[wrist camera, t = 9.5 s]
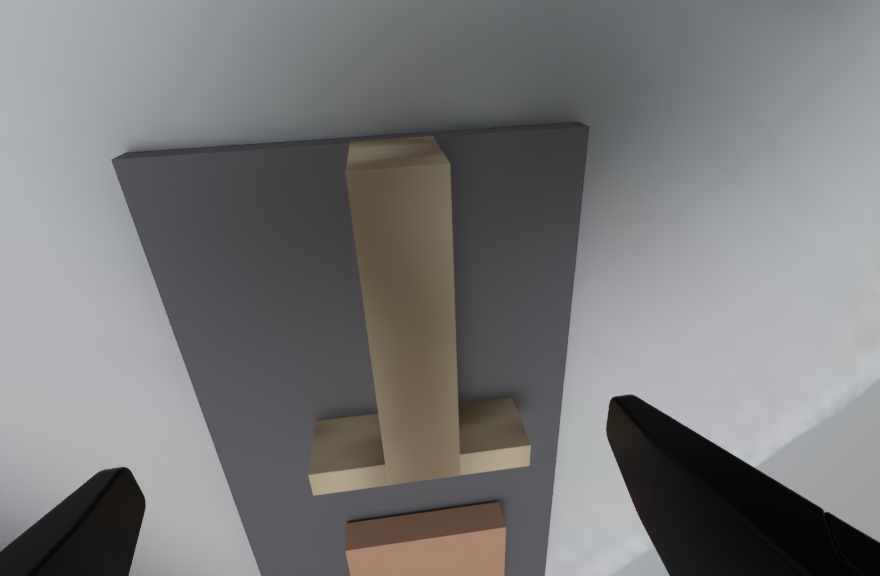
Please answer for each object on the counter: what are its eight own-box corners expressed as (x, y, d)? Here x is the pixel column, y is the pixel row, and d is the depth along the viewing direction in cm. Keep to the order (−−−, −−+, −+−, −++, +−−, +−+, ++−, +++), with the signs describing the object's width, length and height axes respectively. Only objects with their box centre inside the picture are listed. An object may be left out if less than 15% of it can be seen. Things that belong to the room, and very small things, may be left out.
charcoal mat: (578, 122, 18) (589, 126, 17) (539, 565, 31) (544, 581, 30) (125, 152, 16) (111, 159, 16) (281, 606, 29) (278, 624, 28)
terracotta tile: (506, 527, 24) (502, 616, 28) (498, 499, 26) (496, 588, 29) (345, 550, 23) (363, 639, 27) (346, 520, 25) (364, 609, 29)
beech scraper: (520, 129, 17) (561, 155, 13) (511, 416, 23) (536, 485, 19) (255, 148, 16) (224, 180, 12) (319, 440, 22) (310, 517, 19)
